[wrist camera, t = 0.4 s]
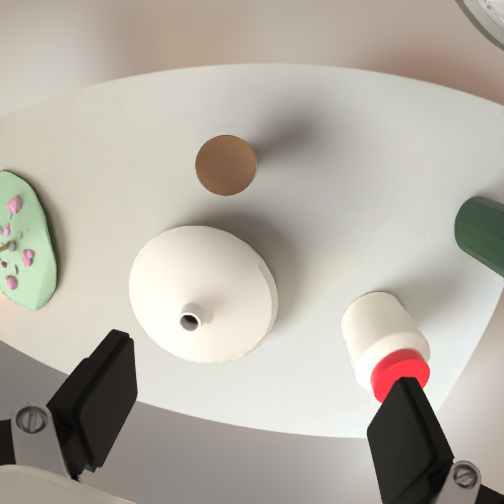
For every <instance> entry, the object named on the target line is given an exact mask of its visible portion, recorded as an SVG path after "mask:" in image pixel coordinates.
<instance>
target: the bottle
mask: <svg viewBox="0 0 504 504" xmlns="http://www.w3.org/2000/svg"><path fill="white" fill-rule="evenodd" d="M455 237H456V241H457V243H458V245H459V247H460V248H461V249H462V250H463V251H465V252H466V253H468V254H469V255H471V256H472V257H474V258H475V259H477V260H478V261H480V262H481V263H483V264H484V265H486V266H487V267H489V268H490V269H492V270H493V271H495V272H496V273H498V274H499V275H500V276H502V277H503V278H504V204H502V203H499V202H496V201H492V200H489V199H486V198H481V197H474V198H471V199H469V200H468V201H466V202H465V203H464V204H463V206H462V207H461V208H460V210H459V212H458V214H457V217H456V221H455Z"/></svg>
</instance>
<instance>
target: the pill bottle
mask: <svg viewBox="0 0 504 504" xmlns="http://www.w3.org/2000/svg"><path fill="white" fill-rule="evenodd" d="M341 329H342V334H343V337H344V340H345V343H346V346H347V350H348V353H349V356H350V359H351V362H352V366H353V369H354V372H355V376H356V379H357V382H358V383H359V385H360V386H361V387H362V388H363V389H364V390H365V391H367V392H369V393H372V394H374V396H375V397H376V399H377V400H378V401H379V402H381V403H383V401H384V400H385V398H386V396H387V394H388V393H389V391H390V389H391V387H392V385H393V383H394V382H395V381H396V380H398V379H399V378H400V377H402V376H404V377H416V378H417V380H418V382H419V383H420V385H421V387H422V389H423V388H424V386H425V385H426V383H427V382H428V379H429V376H430V369H429V366H428V362H429V359H430V347H429V344H428V341H427V340H426V338H425V337H424V335H423V334H422V332H421V331H420V330H419V328H418V327H417V325H416V324H415V322H414V321H413V320H412V318H411V317H410V315H409V314H408V313H407V311H406V310H405V308H404V307H403V306H402V304H401V303H400V302H399V300H398V299H397V298H396V297H394V296H393V295H391V294H389V293H386V292H372V293H368V294H366V295H363V296H361V297H360V298H358V299H356V300H355V301H354V302H353V303H352V304H351V305H350V306H349V307H348V308H347V310H346V312H345V313H344V316H343V318H342V323H341Z"/></svg>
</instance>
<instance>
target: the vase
mask: <svg viewBox="0 0 504 504" xmlns="http://www.w3.org/2000/svg"><path fill="white" fill-rule="evenodd" d="M129 293H130V299H131V305H132V307H133V310H134V312H135V314H136V317H137V319H138V321H139V322H140V324H141V325H142V327H143V328H144V329H145V331H146V332H147V333H148V335H149V336H150V337H151V338H152V339H153V340H154V341H155V342H157V343H158V344H159V345H160V346H161V347H162V348H164V349H166V350H167V351H169V352H171V353H173V354H174V355H176V356H178V357H181V358H184V359H187V360H190V361H194V362H202V363H220V362H228V361H232V360H235V359H238V358H240V357H243V356H246V355H247V354H249V353H250V352H252V351H253V350H254V349H256V348H257V347H259V346H260V345H261V344H262V343H263V341H264V340H265V339H266V337H267V336H268V335H269V334H270V332H271V330H272V328H273V325H274V323H275V320H276V317H277V311H278V294H277V290H276V285H275V281H274V278H273V276H272V274H271V272H270V271H269V269H268V267H267V265H266V263H265V262H264V260H263V259H262V258H261V257H260V256H259V255H258V254H257V253H256V252H255V251H254V250H253V249H252V248H251V247H250V246H249V245H248V244H247V243H245V242H244V241H242V240H240V239H239V238H237V237H235V236H234V235H232V234H230V233H229V232H225V231H222V230H219V229H215V228H212V227H208V226H181V227H178V228H174V229H170V230H166V231H164V232H162V233H161V234H159V235H158V236H156V237H154V238H153V239H151V240H149V242H148V243H147V244H146V245H145V246H144V247H143V248H142V250H141V251H140V252H139V253H138V254H137V257H136V259H135V261H134V263H133V266H132V268H131V271H130V280H129Z"/></svg>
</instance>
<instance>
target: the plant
mask: <svg viewBox="0 0 504 504" xmlns="http://www.w3.org/2000/svg"><path fill="white" fill-rule="evenodd" d="M56 273H57V267H56V260H55V256H54V252H53V249H52V245H51V240H50V236H49V232H48V227H47V223H46V218H45V214H44V212H43V209H42V207H41V205H40V203H39V200H38V198H37V196H36V194H35V192H34V190H33V189H32V187H31V186H30V185H29V184H28V183H27V182H26V181H24V180H23V179H21V178H20V177H18V176H16V175H14V174H13V173H11V172H8V171H2V172H0V291H1V292H2V293H3V294H4V295H5V296H6V297H7V298H9V299H10V300H11V301H13V302H14V303H16V304H18V305H20V306H22V307H24V308H27V309H29V310H38V309H40V308H41V307H43V306H44V305H45V304H46V302H47V301H48V300H49V299H50V297H51V296H52V294H53V293H54V291H55V288H56Z"/></svg>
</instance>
